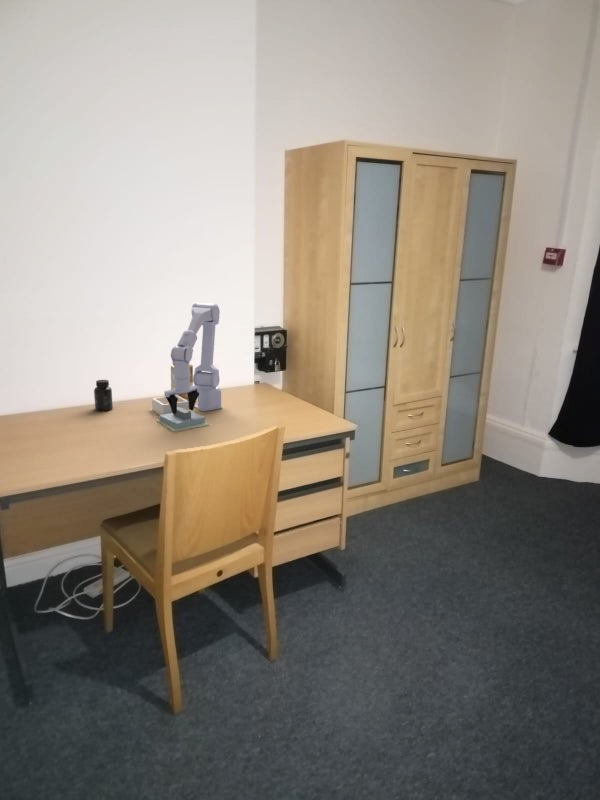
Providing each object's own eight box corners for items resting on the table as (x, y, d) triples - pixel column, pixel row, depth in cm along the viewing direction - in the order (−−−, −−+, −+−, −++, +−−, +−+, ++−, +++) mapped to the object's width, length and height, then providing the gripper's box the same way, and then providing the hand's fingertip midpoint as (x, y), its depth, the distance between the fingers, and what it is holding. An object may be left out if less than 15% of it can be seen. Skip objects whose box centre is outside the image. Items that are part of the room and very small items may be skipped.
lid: (186, 414, 230) (186, 403, 228) (204, 422, 221) (204, 410, 220) (159, 420, 221) (159, 408, 220) (177, 429, 213) (176, 417, 211)
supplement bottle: (92, 408, 234) (90, 380, 230) (108, 405, 238) (107, 378, 235) (99, 412, 229) (97, 384, 226) (115, 410, 233) (113, 381, 230)
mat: (191, 414, 231) (191, 413, 231) (209, 425, 219) (209, 424, 219) (156, 420, 222) (156, 419, 222) (173, 431, 211) (173, 430, 211)
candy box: (188, 396, 256) (188, 363, 252) (193, 398, 253) (193, 365, 249) (171, 399, 251) (170, 365, 246) (175, 401, 248) (174, 367, 243)
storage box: (177, 406, 242) (176, 394, 240) (188, 412, 233) (188, 401, 232) (152, 409, 235) (152, 398, 234) (163, 417, 227) (163, 405, 225)
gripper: (192, 372, 223) (192, 405, 227) (159, 378, 213) (160, 412, 217) (202, 376, 218) (203, 410, 222) (169, 382, 209) (170, 417, 213)
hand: (182, 411), depth 219 cm, fingers open, 7 cm apart
